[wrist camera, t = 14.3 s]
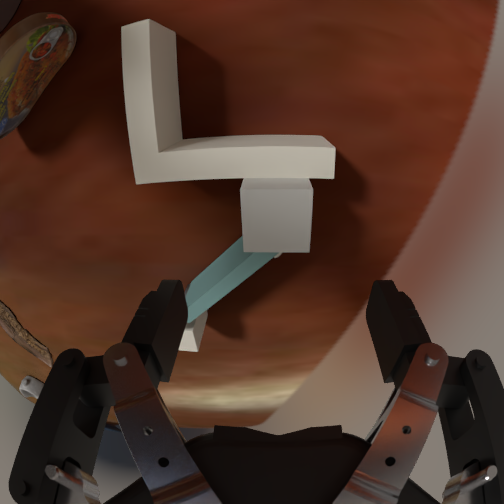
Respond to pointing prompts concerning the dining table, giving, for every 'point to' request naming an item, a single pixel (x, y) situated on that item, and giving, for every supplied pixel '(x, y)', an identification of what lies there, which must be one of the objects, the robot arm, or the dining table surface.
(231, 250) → the teal long flat block
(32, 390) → the dish
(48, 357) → the wooden fragment
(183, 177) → the grey angled piece
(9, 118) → the tin
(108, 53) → the dining table surface
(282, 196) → the block
